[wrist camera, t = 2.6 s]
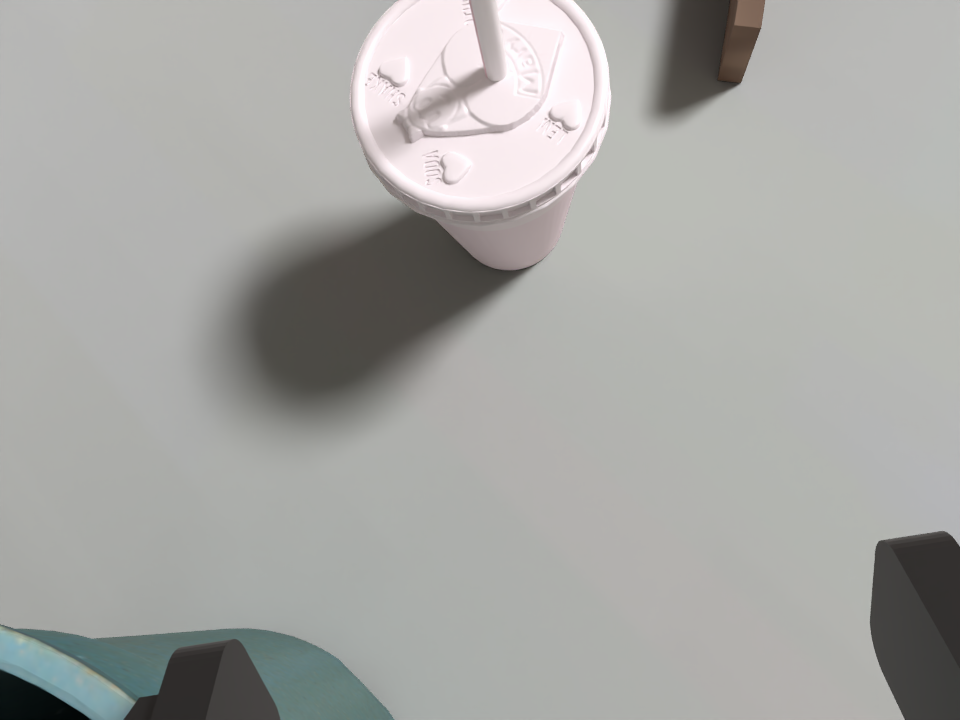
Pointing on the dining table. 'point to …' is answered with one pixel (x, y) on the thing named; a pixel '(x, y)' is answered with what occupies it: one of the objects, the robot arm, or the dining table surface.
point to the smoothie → (483, 117)
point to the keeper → (740, 38)
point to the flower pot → (142, 664)
